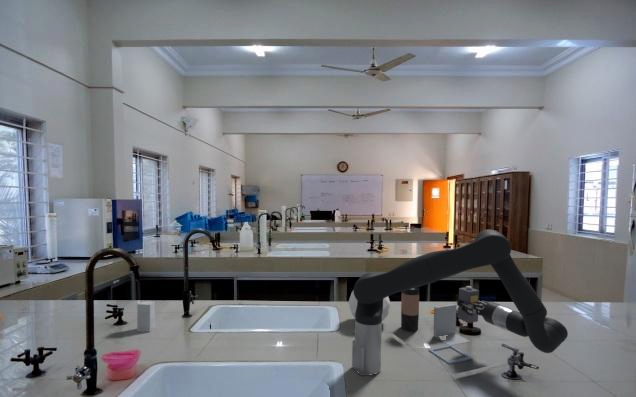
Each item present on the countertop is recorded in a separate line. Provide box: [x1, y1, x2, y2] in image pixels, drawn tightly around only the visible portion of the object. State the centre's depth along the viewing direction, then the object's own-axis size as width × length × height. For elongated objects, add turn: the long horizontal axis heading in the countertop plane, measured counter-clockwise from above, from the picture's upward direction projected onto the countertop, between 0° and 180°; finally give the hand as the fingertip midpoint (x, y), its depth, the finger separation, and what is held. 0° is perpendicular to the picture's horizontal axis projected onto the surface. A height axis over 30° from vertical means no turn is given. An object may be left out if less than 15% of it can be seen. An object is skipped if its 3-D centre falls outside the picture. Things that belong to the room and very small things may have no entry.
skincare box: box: [136, 300, 156, 333], centre depth 149 cm, size 6×4×12 cm
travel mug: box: [400, 287, 420, 333], centre depth 151 cm, size 8×8×20 cm
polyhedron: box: [347, 289, 391, 322], centre depth 161 cm, size 19×20×20 cm
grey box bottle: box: [457, 285, 480, 324], centre depth 131 cm, size 5×5×13 cm
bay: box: [433, 303, 470, 346], centre depth 141 cm, size 11×9×14 cm
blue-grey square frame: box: [427, 344, 473, 365], centre depth 128 cm, size 11×11×2 cm
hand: (463, 301), depth 134 cm, fingers closed on grey box bottle, 5 cm apart
